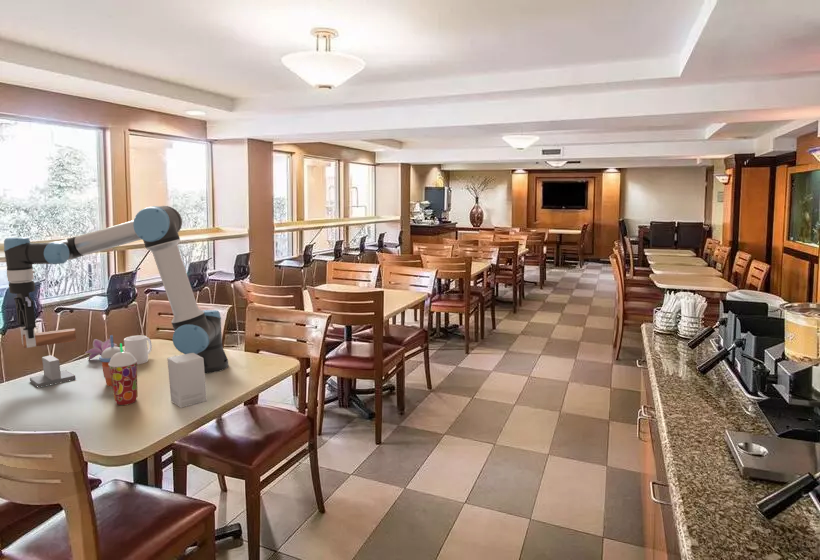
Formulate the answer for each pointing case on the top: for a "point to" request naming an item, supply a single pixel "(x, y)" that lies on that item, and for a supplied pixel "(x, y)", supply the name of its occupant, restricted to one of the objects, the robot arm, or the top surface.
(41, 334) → the batten
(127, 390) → the smoothie
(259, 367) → the top surface
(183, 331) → the robot arm
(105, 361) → the cup with straw
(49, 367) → the ridge stand
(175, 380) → the supplement box
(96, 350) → the lily
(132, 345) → the cup
